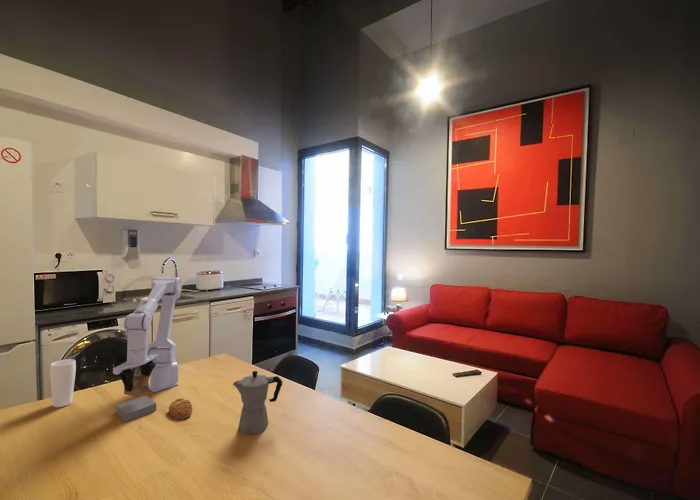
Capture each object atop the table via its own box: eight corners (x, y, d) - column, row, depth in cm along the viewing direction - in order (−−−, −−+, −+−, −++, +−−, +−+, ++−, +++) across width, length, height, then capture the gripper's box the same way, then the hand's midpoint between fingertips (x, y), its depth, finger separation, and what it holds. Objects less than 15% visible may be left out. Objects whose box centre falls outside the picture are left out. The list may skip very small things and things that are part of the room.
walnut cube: (138, 387, 112) (138, 373, 112) (148, 390, 111) (148, 376, 110) (124, 393, 108) (124, 379, 108) (134, 396, 106) (134, 381, 106)
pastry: (197, 415, 108) (197, 404, 108) (175, 423, 103) (176, 412, 103) (187, 405, 115) (187, 394, 115) (166, 412, 110) (166, 401, 110)
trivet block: (145, 403, 116) (145, 395, 115) (156, 411, 110) (156, 403, 110) (116, 413, 108) (116, 404, 108) (126, 423, 103) (126, 414, 103)
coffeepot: (230, 438, 96) (232, 379, 96) (232, 421, 105) (234, 367, 105) (282, 430, 101) (284, 374, 100) (280, 415, 110) (281, 363, 109)
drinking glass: (63, 409, 109) (63, 366, 109) (43, 408, 109) (44, 365, 109) (80, 400, 116) (81, 359, 115) (62, 399, 116) (62, 358, 115)
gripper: (149, 340, 117) (148, 377, 117) (107, 352, 103) (106, 394, 104) (163, 343, 114) (162, 380, 115) (121, 356, 101) (120, 398, 101)
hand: (136, 387), depth 109 cm, fingers closed on walnut cube, 5 cm apart
